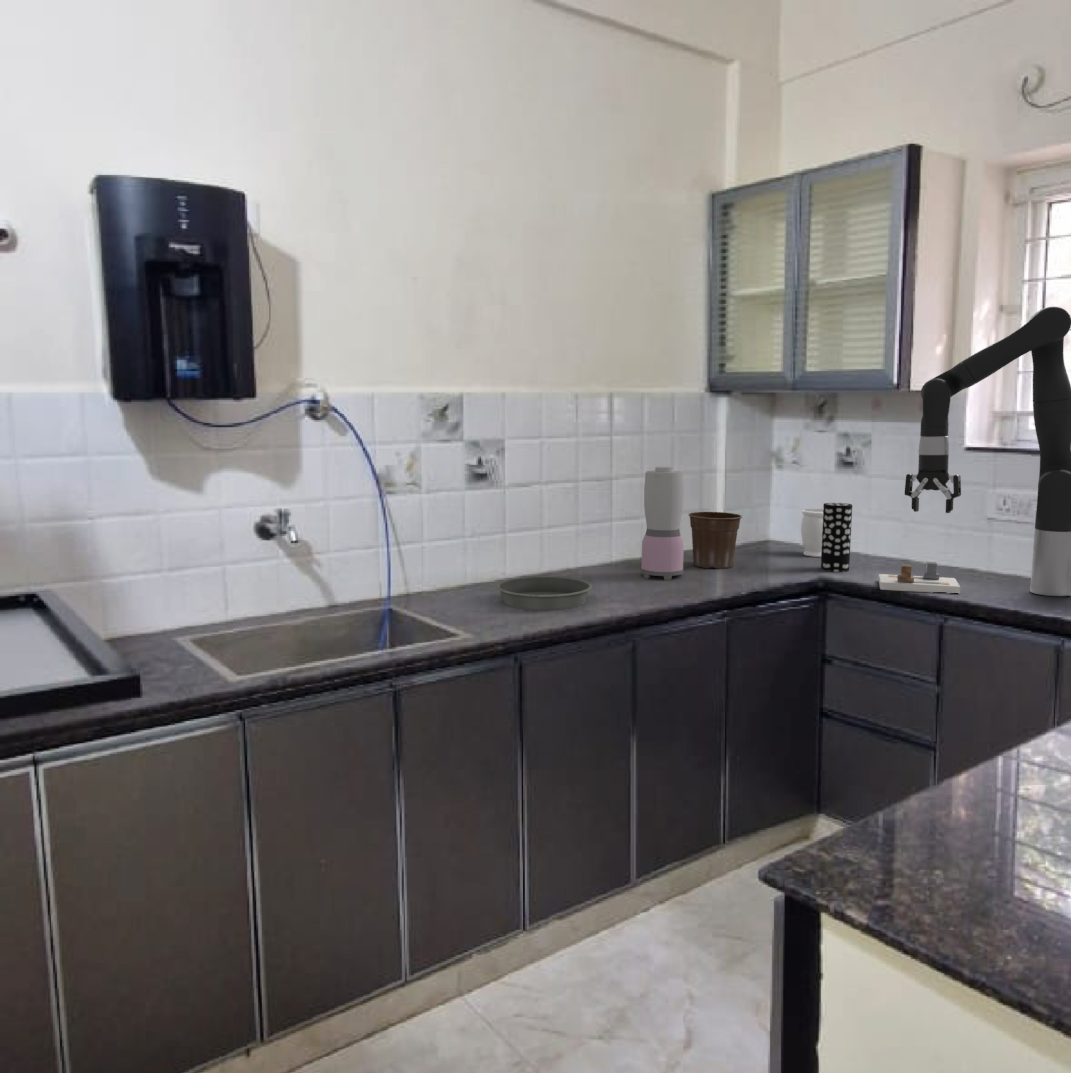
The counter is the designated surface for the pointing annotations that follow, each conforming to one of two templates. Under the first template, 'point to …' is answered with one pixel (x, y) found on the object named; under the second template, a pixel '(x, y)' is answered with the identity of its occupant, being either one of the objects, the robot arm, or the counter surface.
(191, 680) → the counter surface
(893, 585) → the switch panel
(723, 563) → the plant pot
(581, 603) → the cake pan
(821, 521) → the jar
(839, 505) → the white-spotted black cylinder
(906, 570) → the brown tab
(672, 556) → the blender
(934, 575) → the charcoal tab
